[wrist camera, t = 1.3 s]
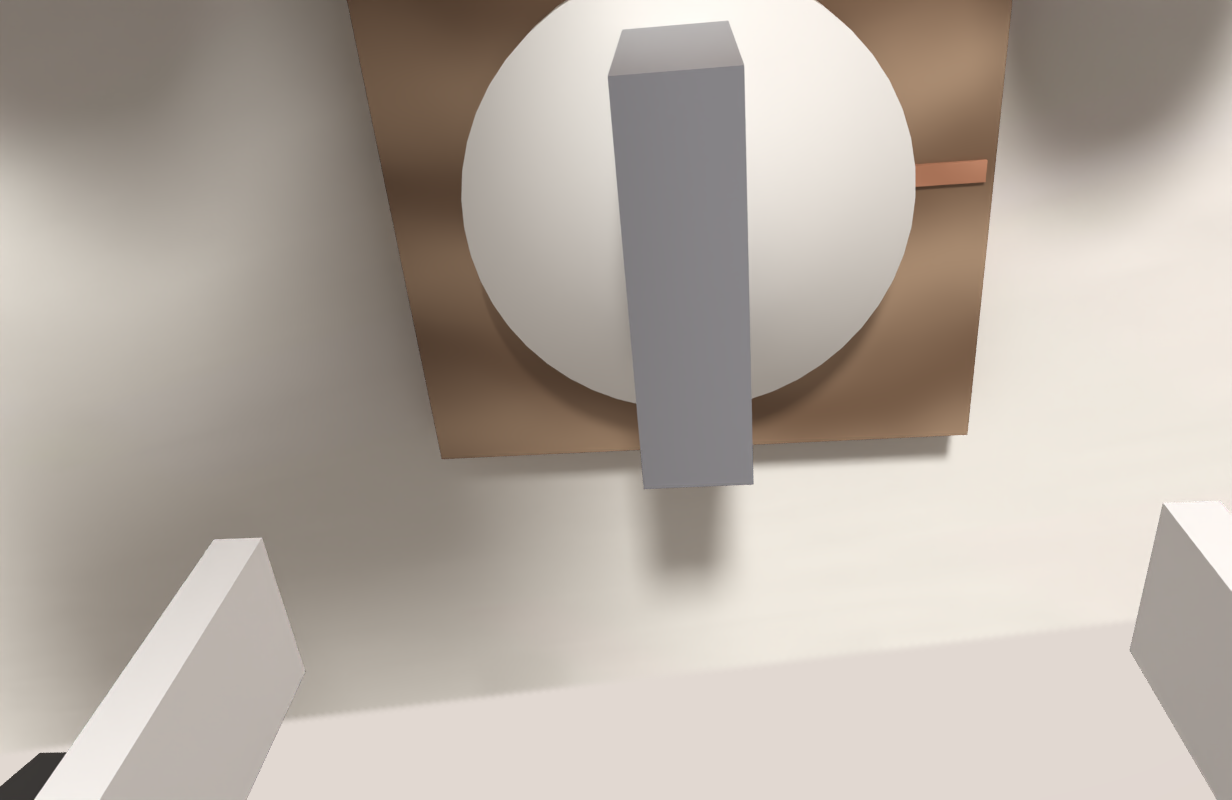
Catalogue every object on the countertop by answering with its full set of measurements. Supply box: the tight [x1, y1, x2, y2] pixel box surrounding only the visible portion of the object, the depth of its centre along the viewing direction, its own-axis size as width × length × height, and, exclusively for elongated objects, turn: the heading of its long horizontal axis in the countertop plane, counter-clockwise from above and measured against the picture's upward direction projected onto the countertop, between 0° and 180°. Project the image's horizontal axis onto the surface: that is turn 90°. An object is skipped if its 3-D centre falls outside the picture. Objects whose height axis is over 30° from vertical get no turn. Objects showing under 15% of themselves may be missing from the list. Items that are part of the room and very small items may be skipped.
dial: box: [461, 0, 915, 489], centre depth 28 cm, size 14×14×9 cm
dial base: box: [347, 0, 1012, 459], centre depth 33 cm, size 20×20×2 cm
